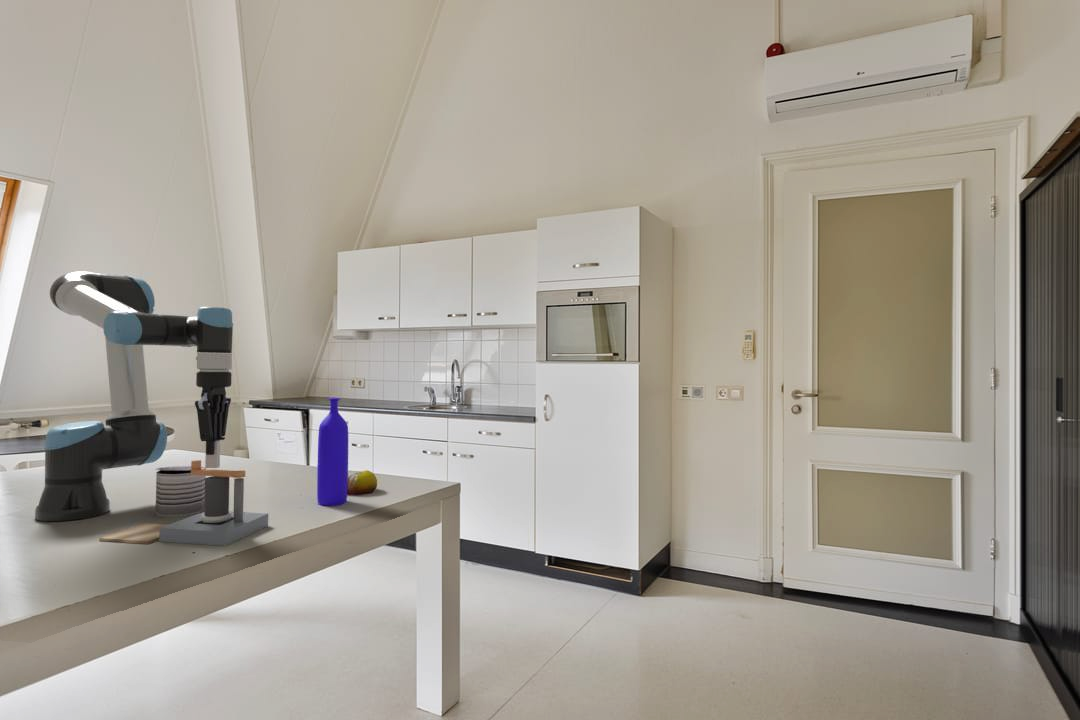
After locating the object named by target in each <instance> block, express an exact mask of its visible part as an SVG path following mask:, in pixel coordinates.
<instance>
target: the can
mask: <svg viewBox="0 0 1080 720" xmlns="http://www.w3.org/2000/svg"><path fill="white" fill-rule="evenodd" d="M201 469H207V468H205V466H201ZM155 470H157V471H156V478H155V479H156V480H155V484H156V485H155V515H156V516H159V517H163V516H167V518H168V516H169V518H174V517H175V518H177V517H183V516H184V515H186V516H192V515H196V514H199V513H202V512H204V511H205V478H207V476H201V475H191V466H189V465H188V466H187V465H186V466H184V465H183V466H179V465H178V466H165V467H157V468H156V469H155ZM198 512H199V513H198ZM195 513H196V514H195ZM191 514H192V515H191ZM176 516H177V517H176Z"/></svg>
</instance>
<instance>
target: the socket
mask: <svg viewBox="0 0 1080 720" xmlns="http://www.w3.org/2000/svg"><path fill="white" fill-rule="evenodd" d="M244 478H245V477H242V478H233V479H234V480H233V511H230V510H229V511H230V512H232V518H231V519H230V520H229V522H226V523H224V524H222V525H211V524H204V522H202V521H201V516H202V514H204V513H205V511H202V512H199V513H196V514H193V515H190V516H189V517H186V518H184V519H181V520H178V521H175V522H172V523H170V524H165V525H166V526H164V527H161V528H159V540H158V541H159V542H162V543H163V542H165V543H179V544H192V545H194V544H195V545H209V546H224V547H225V546H228V545H230V544H233V543H234V542H236V541H239V540H241V539H243V538H245V537H247V536H249V535H251V534H253V533H256V532H259V531H260V530H262V529H264V528H266V527H268V526H269V513H263V512H262V513H261V512H247V511H246V512H245V511H244V496H245V493H244V492H245V486H244V485H245V479H244Z"/></svg>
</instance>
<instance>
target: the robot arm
mask: <svg viewBox="0 0 1080 720" xmlns="http://www.w3.org/2000/svg"><path fill="white" fill-rule="evenodd" d="M49 298H50V300H51V303H52V304H53V305H54V306H55V307H56V308H57V309H58V310H60V311H61V312H63V313H65V314H68V315H69V316H75V317H76V316H77V317H81V318H83V319H85V320H87V321H88V322H89V323H92V324H94V325H96V326H98V327H99V328H101V329H103V334H104V339H105V349H106V350H105V351H106V352H105V353H106V360H107V362H106V363H107V376H108V385H109V395H110V396H109V398H110V407H111V408H110V409H111V410H110V411H111V413H110V414H109V415H108V417H106V419H105V424H104V423H103V421H101V420H87V421H77V422H71V423H65V424H62V425H61V424H60V425H57V426H54V427H52V428H51V429H49V430H48V431H47V433H46V436H45V445H44V446H43V447H44V451H45V454H44V455H45V457H44V460H45V461H44V466H45V467H44V488H43V490H42V493H41V496H40V499H39V502H38V505H37V506H36V507H35V509H34V510H35V511H34V519H35V520H37V521H41V522H65V521H74V520H81V519H87V518H92V517H96V516H97V517H98V516H100V515H103V514H106V513H108V512H109V511H110V506H111V504H110V503H111V502H110V500H109V498H107V492H106V489H105V486H104V483H103V470H110V469H118V468H125V467H133V466H139V467H140V466H142V465H147V464H151V463H155V462H157V461H158V460H159V459H160V458H161V457H162V456H163V454H164V453H165V450H166V447H167V443H168V431H167V427H166V426H165V424H164V423H163V422H161V421H160V420H157V417H156V416H157V415H156V413H154V412H153V411H151V410H150V408H149V397H148V388H147V378H146V377H147V375H146V365H145V354H144V346H169V347H183V348H185V347H186V348H187V347H188V348H192V347H196V349H197V350H196V357H195V360H196V369H197V370H199V371H197V372H196V373H195V374H196V379H195V380H196V381H195V385H196V386H197V387H198V388H201V389H202V390H201V393H200V397H201V398H200V400H195V402H194V406H195V409H196V414H197V421H198V431H199V438H200V441H201V442H205V460H204V462H205V463H204V464H205V465H204V467H205V468H206V469H218V468H220V467H221V462H220V461H221V441H224V440H226V437H225V436H226V432H227V424H228V419H229V418H228V417H229V412H230V411H229V409H230V405H231V403H232V398H231V397H227V396H226V395H227V390H226V388H229V387H231V386H232V373H231V372H230V371H231V370H232V369H233V353H232V351H233V330H234V327H233V326H234V323H233V312H232V310H231V309H230V308H226V307H219V306H216V307H215V306H201V307H199V308H198V310H197V313H196V314H197V315H196V316H187V315H175V314H162V313H160V314H159V313H158V314H157V313H154V311H155V309H154V307H155V304H156V303H155V295H154V292H153V289H152V288H151V286H150V285H149V284H148V283H147V281H145V280H144V279H142V278H138V277H132V276H130V275H117V274H109V273H108V274H107V273H99V272H92V271H72V272H68V273H65V274H63V275H61V276H60V277H57V278H56V279H55V281H53V282H52V285H51V286H50V289H49Z"/></svg>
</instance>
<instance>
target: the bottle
mask: <svg viewBox="0 0 1080 720" xmlns="http://www.w3.org/2000/svg"><path fill="white" fill-rule="evenodd" d="M340 400H341V398H340V397H329V398H328V401H330V410H329V413H328V414H327V415H326V416H325V417H324V418H323V420H322V421H321V423H320V424H319V427H318V437H317V464H316V465H317V470H316V471H317V475H316V476H317V478H316V479H317V480H316V483H317V487H316V495H317V498H316V499H317V504H318V505H319V506H327V507H330V506H331V507H334V506H340V505H343V504H345V503H347V499H348V494H347V487H348V474H349V426H348V423H347V421H346V420H345V418H343V416H342V415H341V414H340V413H339V408H338V405H339V404H338V403H339V401H340Z"/></svg>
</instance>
